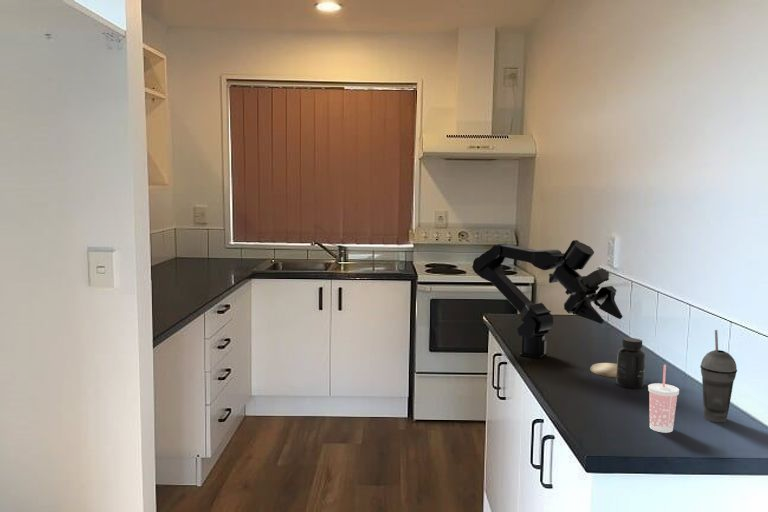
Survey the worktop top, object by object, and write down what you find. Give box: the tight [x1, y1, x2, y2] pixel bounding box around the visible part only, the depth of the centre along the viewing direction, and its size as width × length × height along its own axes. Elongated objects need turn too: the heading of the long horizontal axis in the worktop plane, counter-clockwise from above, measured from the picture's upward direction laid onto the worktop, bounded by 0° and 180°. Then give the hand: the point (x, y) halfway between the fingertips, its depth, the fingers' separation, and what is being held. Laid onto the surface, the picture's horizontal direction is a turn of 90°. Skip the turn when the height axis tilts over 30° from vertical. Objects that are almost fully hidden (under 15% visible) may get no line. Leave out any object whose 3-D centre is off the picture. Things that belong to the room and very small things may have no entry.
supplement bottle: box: [615, 337, 647, 389], centre depth 164 cm, size 7×7×12 cm
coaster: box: [589, 362, 617, 379], centre depth 176 cm, size 12×12×1 cm
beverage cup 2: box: [699, 329, 738, 423], centre depth 140 cm, size 7×7×20 cm
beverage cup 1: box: [647, 364, 680, 434], centre depth 135 cm, size 6×6×14 cm
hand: (612, 320), depth 172 cm, fingers open, 9 cm apart
